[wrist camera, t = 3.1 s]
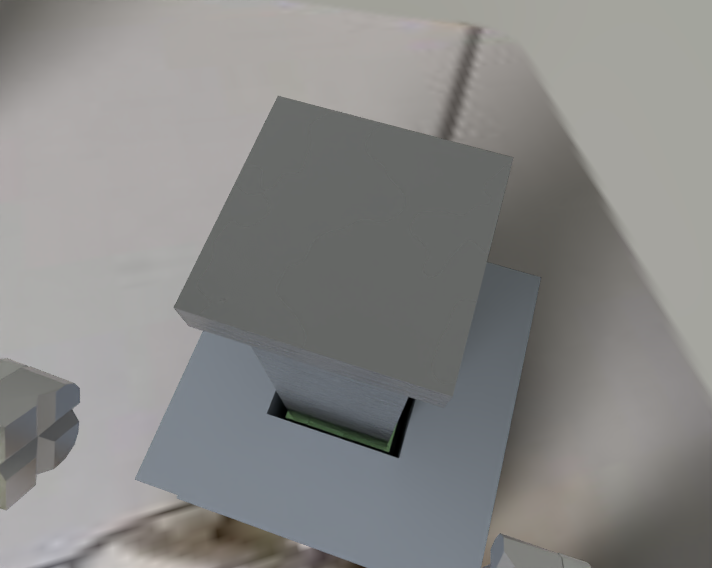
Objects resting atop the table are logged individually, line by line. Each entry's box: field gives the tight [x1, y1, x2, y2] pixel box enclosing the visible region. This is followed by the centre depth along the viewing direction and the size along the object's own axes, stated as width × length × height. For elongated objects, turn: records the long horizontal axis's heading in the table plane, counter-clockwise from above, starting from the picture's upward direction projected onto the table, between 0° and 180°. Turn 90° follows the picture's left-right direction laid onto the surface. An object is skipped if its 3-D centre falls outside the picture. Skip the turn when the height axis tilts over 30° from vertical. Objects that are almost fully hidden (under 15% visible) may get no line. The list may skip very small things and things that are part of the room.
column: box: [174, 96, 513, 455], centre depth 19 cm, size 5×5×18 cm
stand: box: [135, 262, 541, 568], centre depth 24 cm, size 13×13×9 cm
